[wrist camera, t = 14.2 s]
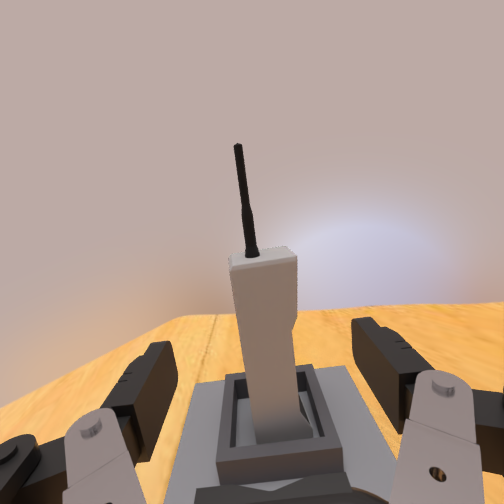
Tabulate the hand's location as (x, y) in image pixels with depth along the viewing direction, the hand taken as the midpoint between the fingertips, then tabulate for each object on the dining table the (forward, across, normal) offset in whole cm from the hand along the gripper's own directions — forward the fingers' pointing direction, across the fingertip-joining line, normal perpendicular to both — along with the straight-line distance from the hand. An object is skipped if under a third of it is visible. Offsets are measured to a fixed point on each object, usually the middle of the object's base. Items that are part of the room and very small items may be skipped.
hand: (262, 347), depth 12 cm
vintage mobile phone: (+10, 0, +15) cm, 18 cm away
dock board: (+10, 0, +16) cm, 19 cm away
